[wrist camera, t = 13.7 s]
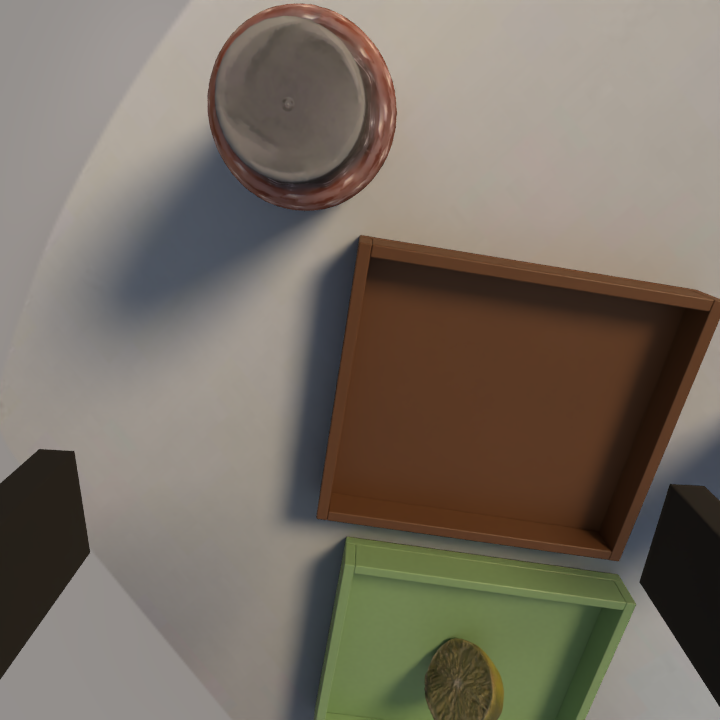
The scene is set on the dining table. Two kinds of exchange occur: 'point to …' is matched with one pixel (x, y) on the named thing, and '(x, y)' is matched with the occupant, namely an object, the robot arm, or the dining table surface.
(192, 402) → the dining table surface
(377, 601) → the green tray
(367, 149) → the supplement bottle
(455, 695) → the lime
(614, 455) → the walnut tray
